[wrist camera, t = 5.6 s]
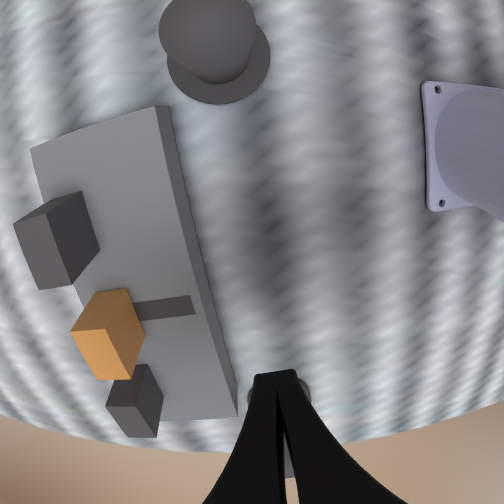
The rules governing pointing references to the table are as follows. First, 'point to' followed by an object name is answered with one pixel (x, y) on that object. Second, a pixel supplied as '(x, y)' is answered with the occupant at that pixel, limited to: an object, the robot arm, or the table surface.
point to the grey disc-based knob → (214, 49)
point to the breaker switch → (109, 335)
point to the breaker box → (133, 262)
